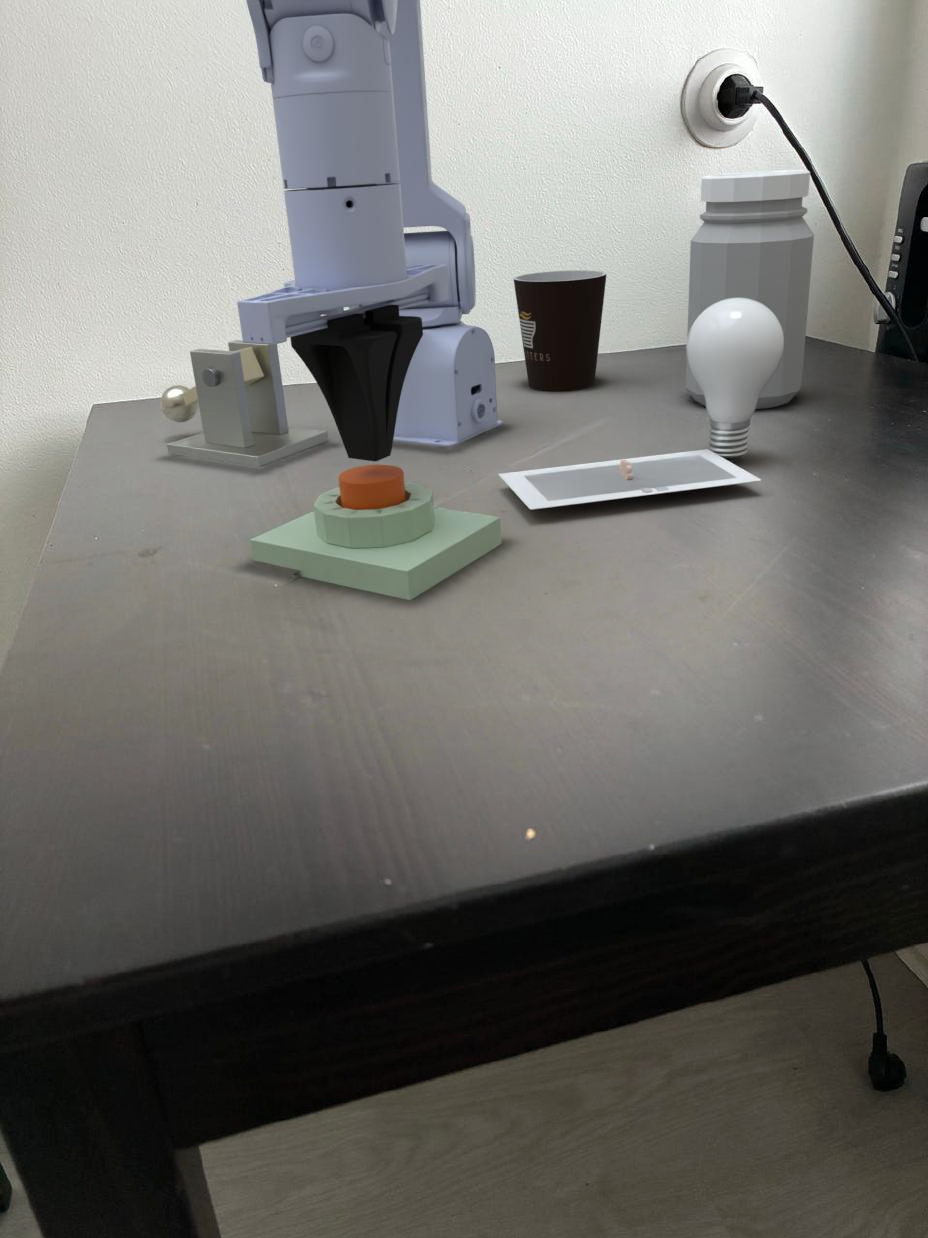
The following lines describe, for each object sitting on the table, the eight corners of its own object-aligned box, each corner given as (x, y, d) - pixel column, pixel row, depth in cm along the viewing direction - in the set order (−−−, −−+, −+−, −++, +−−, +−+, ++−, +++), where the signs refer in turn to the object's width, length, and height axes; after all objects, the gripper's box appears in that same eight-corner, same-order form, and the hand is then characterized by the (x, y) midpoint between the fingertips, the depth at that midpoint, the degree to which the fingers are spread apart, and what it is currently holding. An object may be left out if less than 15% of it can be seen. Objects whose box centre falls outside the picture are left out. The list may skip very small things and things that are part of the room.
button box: (501, 544, 57) (499, 486, 56) (410, 601, 51) (404, 537, 49) (354, 519, 63) (348, 465, 62) (254, 567, 56) (244, 508, 55)
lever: (163, 430, 82) (147, 396, 82) (190, 422, 85) (175, 388, 84) (242, 386, 75) (225, 348, 75) (269, 378, 78) (253, 341, 77)
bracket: (168, 458, 79) (149, 352, 76) (240, 434, 85) (225, 335, 82) (260, 472, 74) (243, 359, 71) (329, 445, 80) (317, 340, 77)
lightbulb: (780, 450, 72) (793, 290, 67) (767, 476, 66) (781, 305, 62) (691, 445, 74) (698, 290, 69) (672, 469, 69) (678, 305, 64)
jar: (663, 396, 89) (668, 177, 82) (752, 382, 92) (765, 169, 85) (730, 417, 81) (744, 175, 73) (826, 400, 84) (848, 167, 77)
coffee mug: (611, 390, 93) (611, 277, 88) (518, 395, 93) (514, 283, 89) (597, 367, 103) (597, 265, 99) (514, 371, 103) (511, 270, 99)
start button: (418, 498, 56) (416, 468, 55) (379, 517, 53) (376, 486, 53) (368, 490, 58) (365, 461, 57) (328, 509, 55) (324, 478, 55)
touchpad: (498, 489, 67) (497, 458, 66) (707, 464, 69) (708, 433, 69) (530, 526, 60) (529, 492, 59) (760, 497, 62) (763, 463, 62)
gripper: (368, 182, 56) (390, 419, 62) (173, 199, 45) (221, 485, 51) (473, 176, 53) (486, 429, 58) (288, 194, 42) (326, 502, 48)
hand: (369, 456), depth 55 cm, fingers closed
